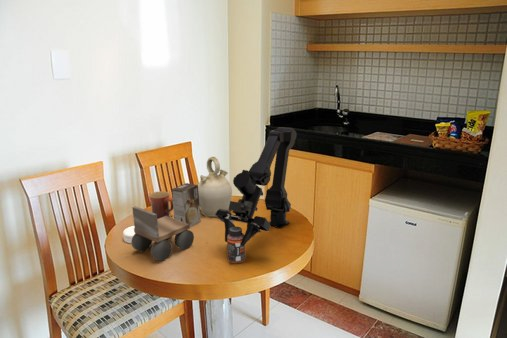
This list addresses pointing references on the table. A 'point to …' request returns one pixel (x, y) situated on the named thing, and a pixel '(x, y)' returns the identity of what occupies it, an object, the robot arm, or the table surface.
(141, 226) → the trolley
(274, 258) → the table surface
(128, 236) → the coaster
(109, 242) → the table surface
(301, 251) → the table surface
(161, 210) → the mug
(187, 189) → the coffee box
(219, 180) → the jug
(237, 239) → the supplement bottle
